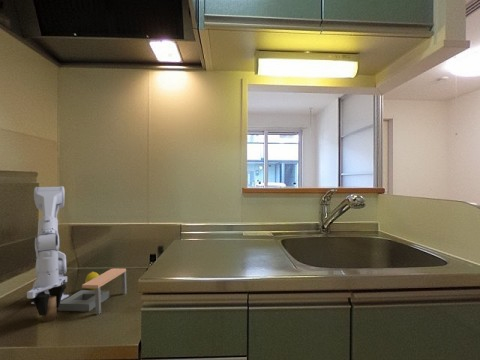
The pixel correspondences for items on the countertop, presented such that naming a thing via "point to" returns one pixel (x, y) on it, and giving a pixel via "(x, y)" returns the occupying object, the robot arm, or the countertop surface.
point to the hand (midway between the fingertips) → (49, 311)
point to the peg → (50, 310)
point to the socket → (81, 301)
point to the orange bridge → (103, 280)
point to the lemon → (90, 277)
